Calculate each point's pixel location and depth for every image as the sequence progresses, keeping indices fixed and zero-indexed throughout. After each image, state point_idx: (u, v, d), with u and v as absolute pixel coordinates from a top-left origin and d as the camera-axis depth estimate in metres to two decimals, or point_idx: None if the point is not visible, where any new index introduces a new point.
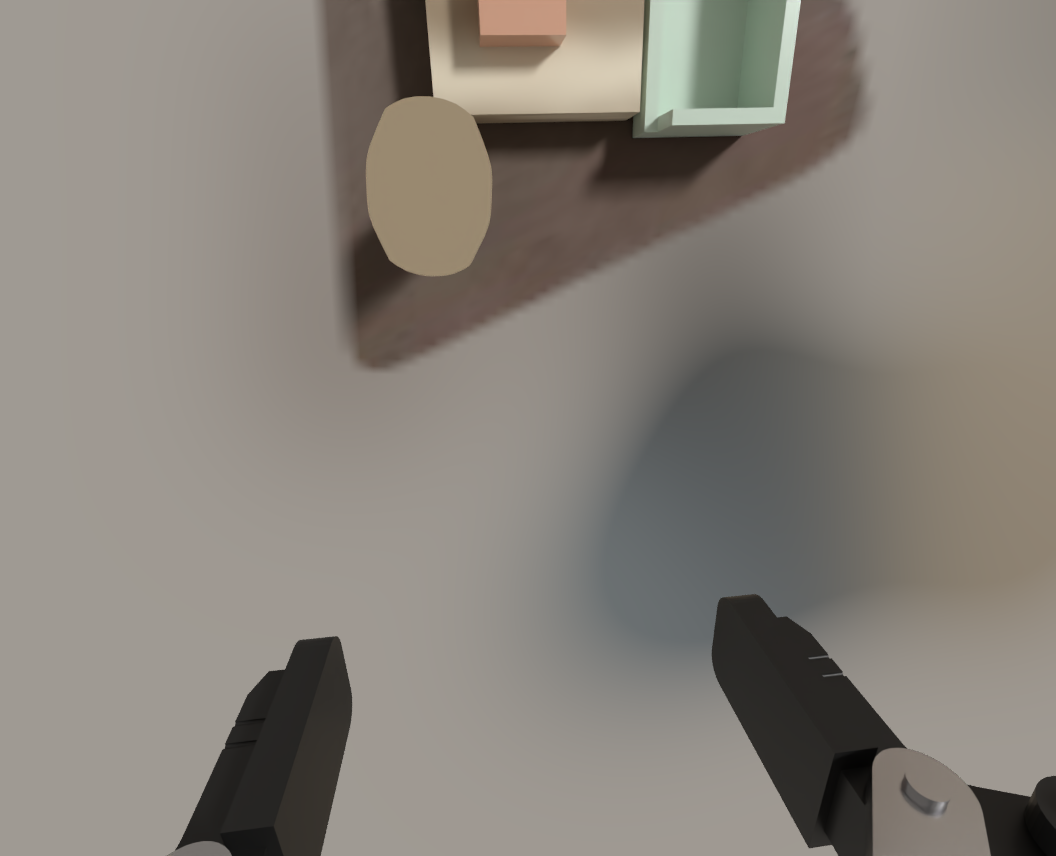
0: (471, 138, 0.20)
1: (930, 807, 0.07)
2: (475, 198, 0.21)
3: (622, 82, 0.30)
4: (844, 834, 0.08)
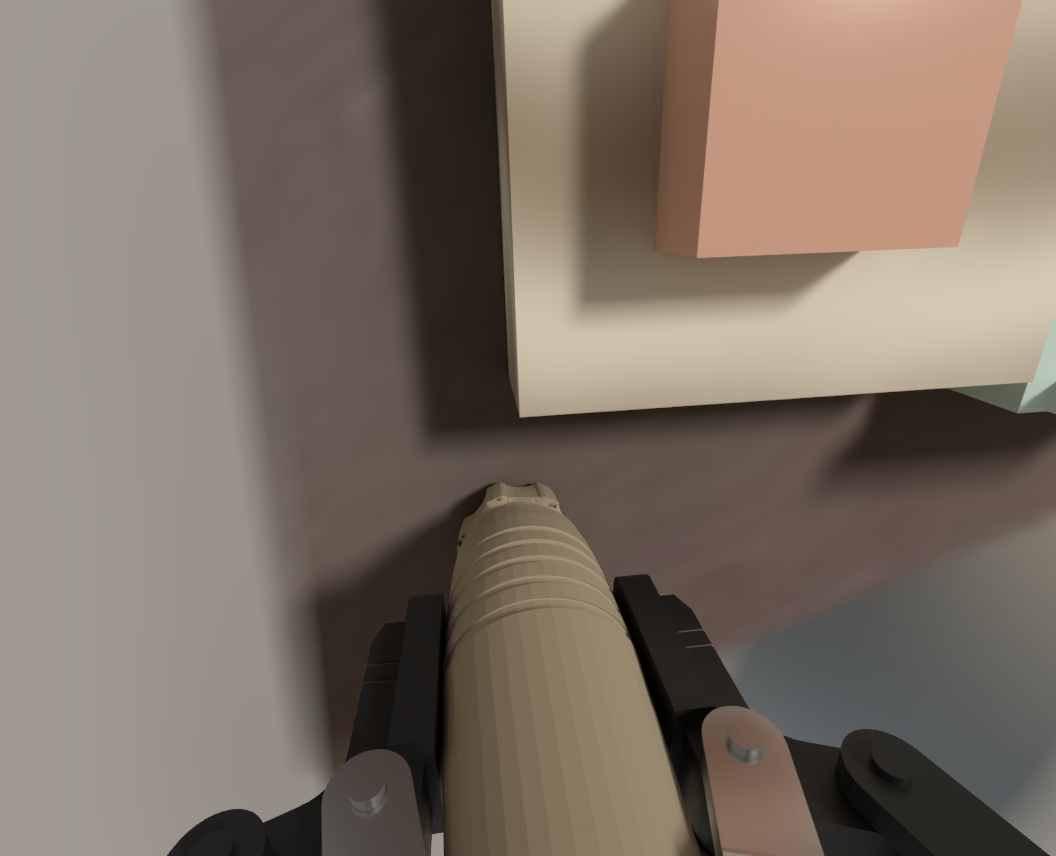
0: None
1: (743, 755, 0.07)
2: None
3: (1009, 320, 0.12)
4: (687, 786, 0.08)
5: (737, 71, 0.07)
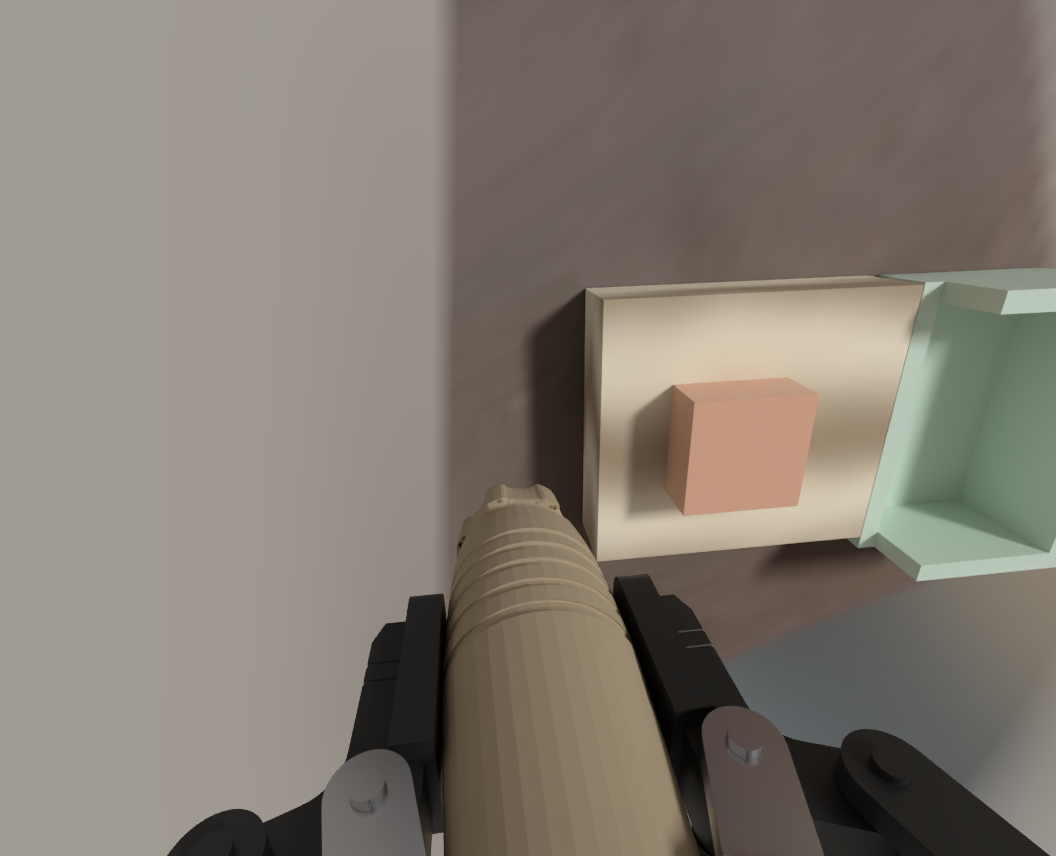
0: None
1: (743, 754, 0.07)
2: None
3: (843, 510, 0.23)
4: (687, 786, 0.08)
5: (699, 454, 0.19)
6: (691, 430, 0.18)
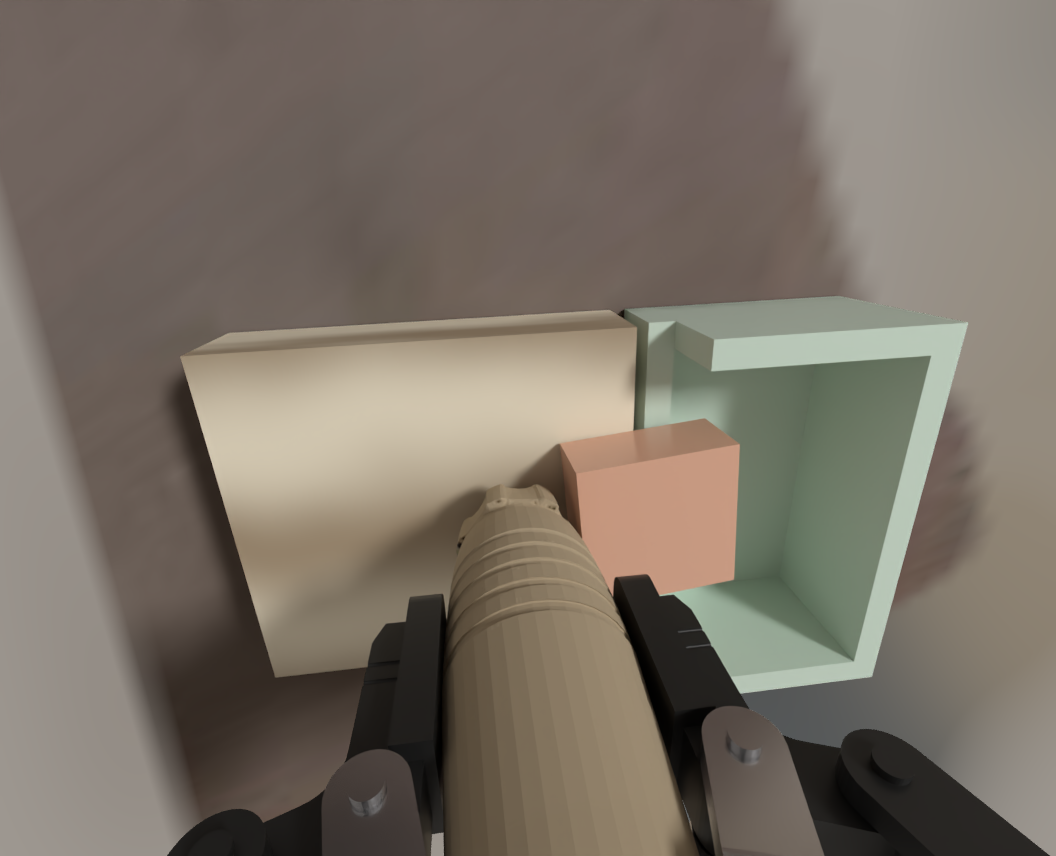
0: None
1: (743, 754, 0.07)
2: None
3: None
4: (687, 786, 0.09)
5: (595, 535, 0.14)
6: (579, 508, 0.14)
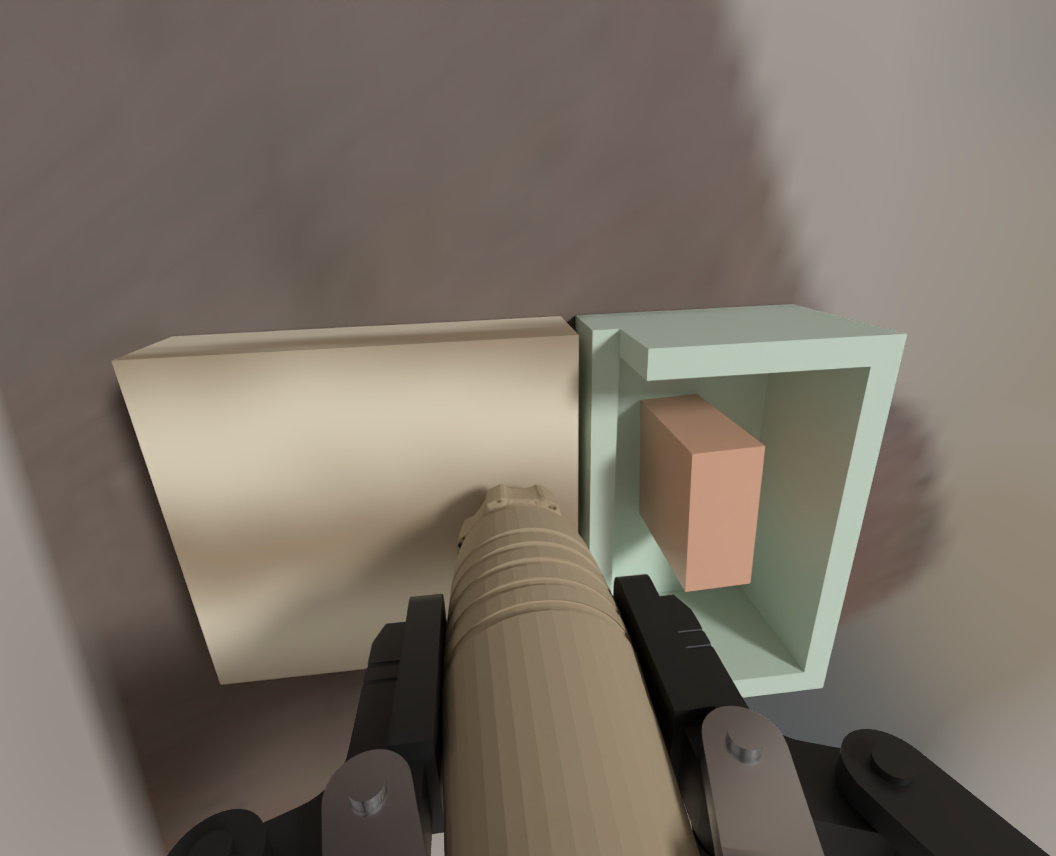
0: None
1: (742, 754, 0.07)
2: None
3: None
4: (687, 786, 0.09)
5: None
6: (760, 480, 0.14)
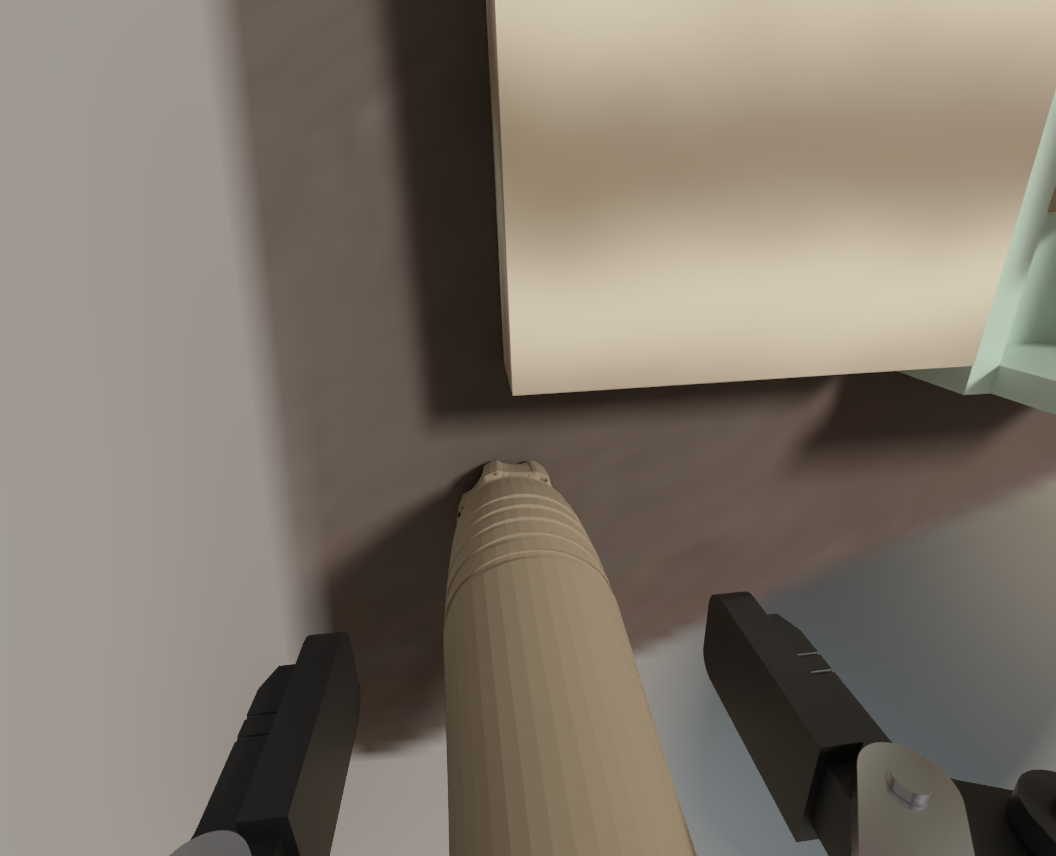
0: None
1: (913, 800, 0.07)
2: None
3: (950, 310, 0.13)
4: (830, 828, 0.08)
5: None
6: None
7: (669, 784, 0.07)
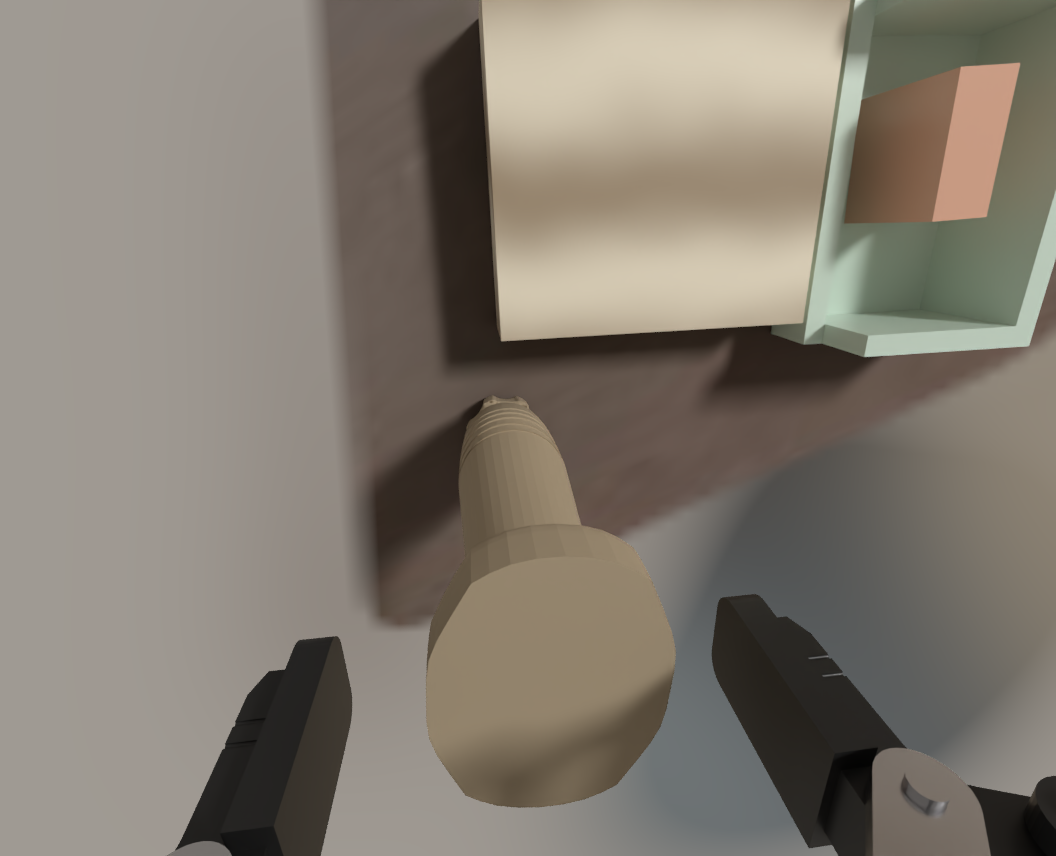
0: (642, 612, 0.10)
1: (930, 807, 0.07)
2: (638, 695, 0.10)
3: (781, 286, 0.20)
4: (844, 834, 0.08)
5: None
6: (1010, 101, 0.17)
7: (576, 518, 0.15)
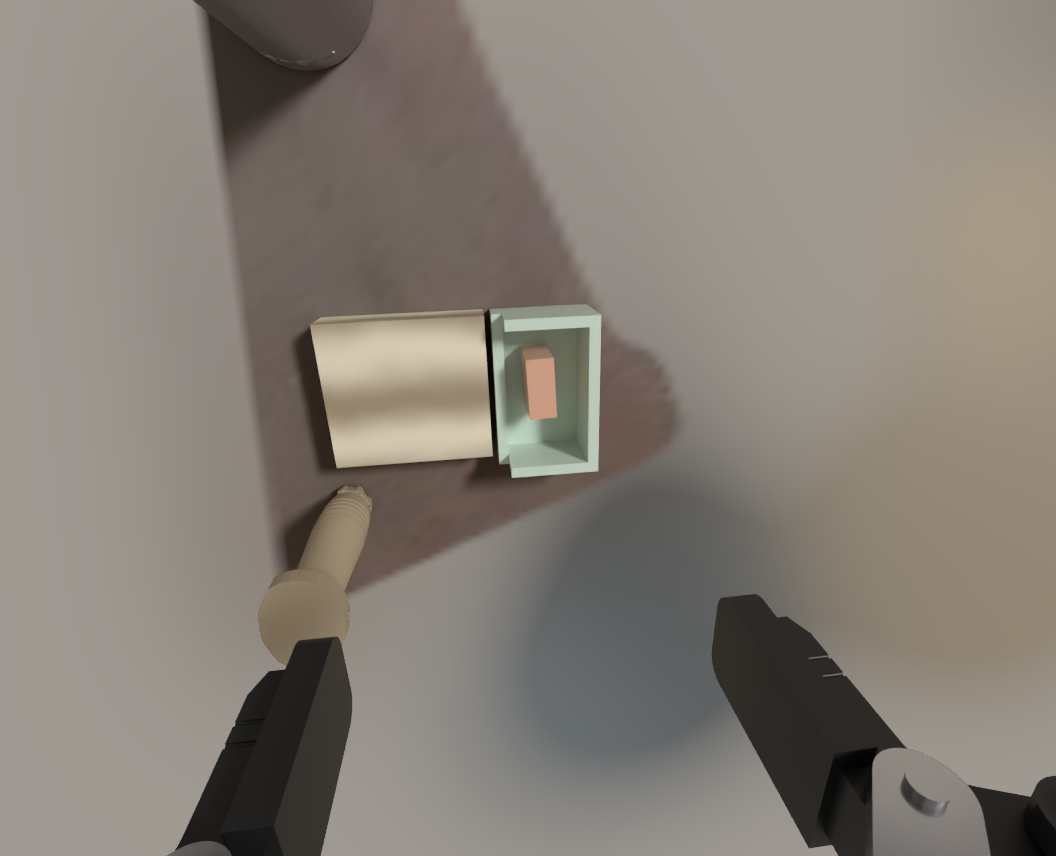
0: (327, 598, 0.30)
1: (930, 807, 0.07)
2: (334, 626, 0.31)
3: (477, 440, 0.41)
4: (844, 834, 0.08)
5: None
6: (554, 372, 0.37)
7: (343, 560, 0.35)
